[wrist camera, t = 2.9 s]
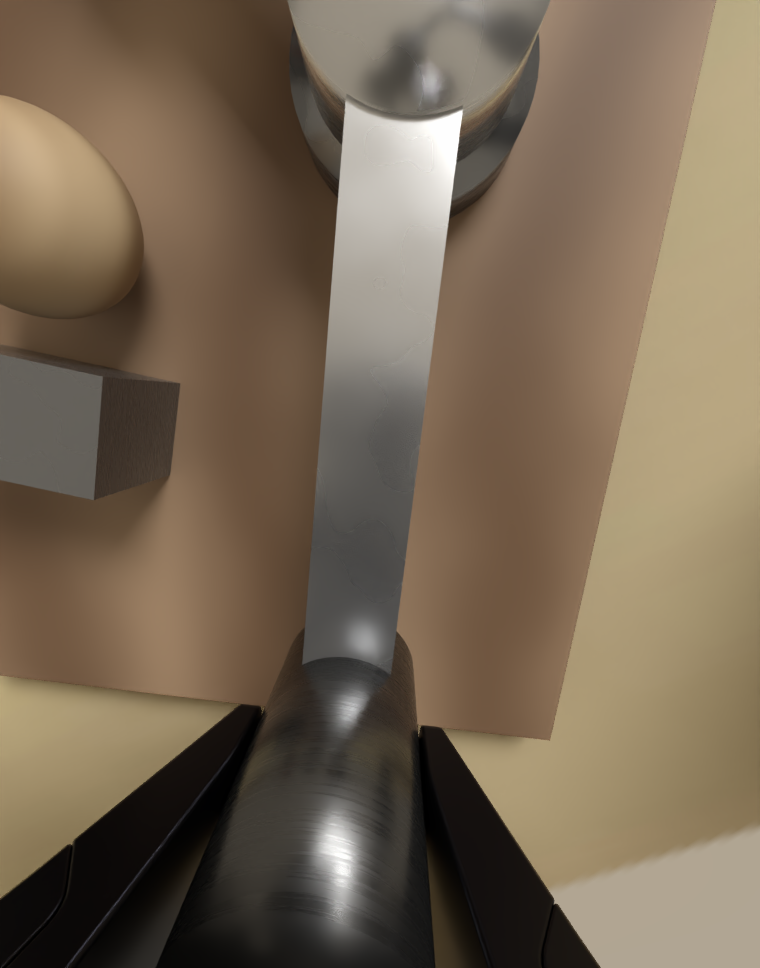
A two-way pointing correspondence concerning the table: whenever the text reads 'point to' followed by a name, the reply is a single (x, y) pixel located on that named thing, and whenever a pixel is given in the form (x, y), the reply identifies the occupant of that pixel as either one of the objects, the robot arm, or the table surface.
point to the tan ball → (61, 219)
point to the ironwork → (152, 401)
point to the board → (302, 355)
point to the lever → (359, 512)
